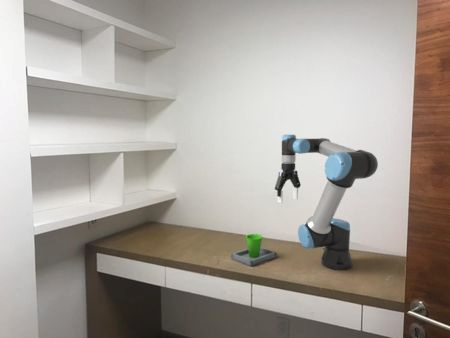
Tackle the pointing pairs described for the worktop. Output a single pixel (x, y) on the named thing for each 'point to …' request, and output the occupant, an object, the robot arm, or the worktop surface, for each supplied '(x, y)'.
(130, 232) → the worktop surface
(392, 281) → the worktop surface
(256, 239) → the cup
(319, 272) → the worktop surface
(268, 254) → the grey tray
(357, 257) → the worktop surface
